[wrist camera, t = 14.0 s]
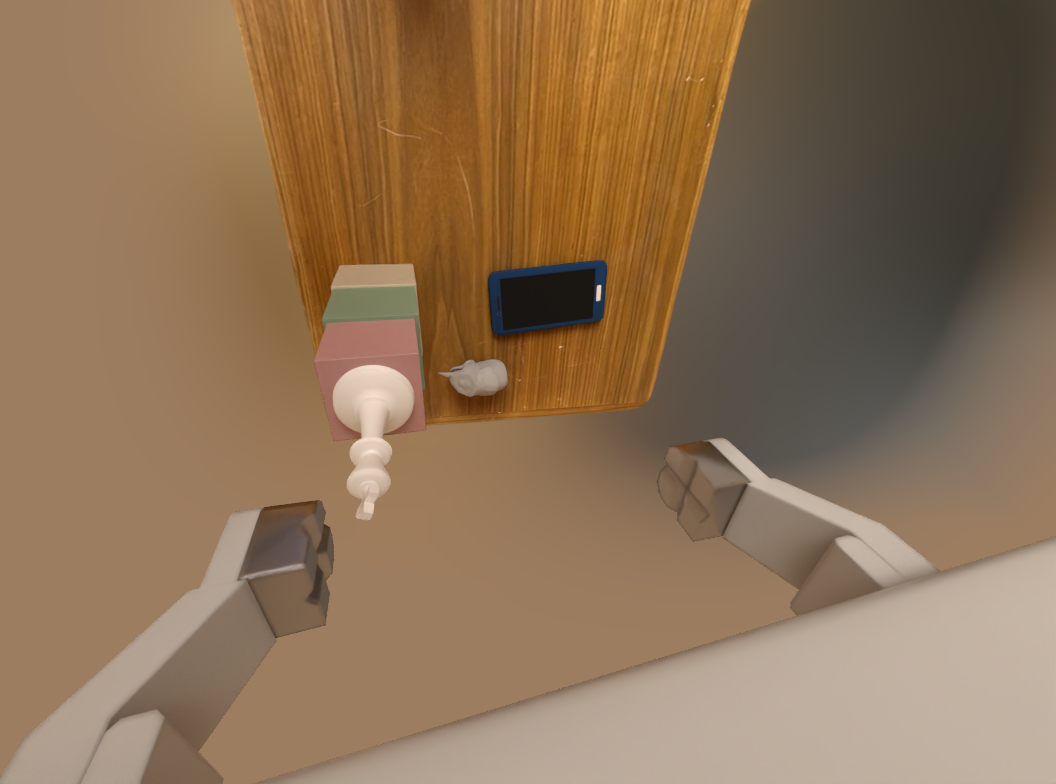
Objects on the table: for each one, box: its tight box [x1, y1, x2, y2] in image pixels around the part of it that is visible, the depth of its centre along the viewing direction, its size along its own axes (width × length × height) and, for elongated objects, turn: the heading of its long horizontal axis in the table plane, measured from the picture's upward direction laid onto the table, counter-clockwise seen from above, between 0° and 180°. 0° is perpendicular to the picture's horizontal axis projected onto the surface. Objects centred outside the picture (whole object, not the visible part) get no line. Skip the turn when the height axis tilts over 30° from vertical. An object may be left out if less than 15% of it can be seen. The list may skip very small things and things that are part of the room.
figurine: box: [438, 359, 508, 397], centre depth 48 cm, size 4×8×5 cm, turn 80°
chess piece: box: [333, 365, 415, 521], centre depth 22 cm, size 5×5×10 cm
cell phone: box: [488, 260, 607, 335], centre depth 47 cm, size 7×14×1 cm, turn 92°
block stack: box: [314, 264, 426, 441], centre depth 34 cm, size 7×7×20 cm
